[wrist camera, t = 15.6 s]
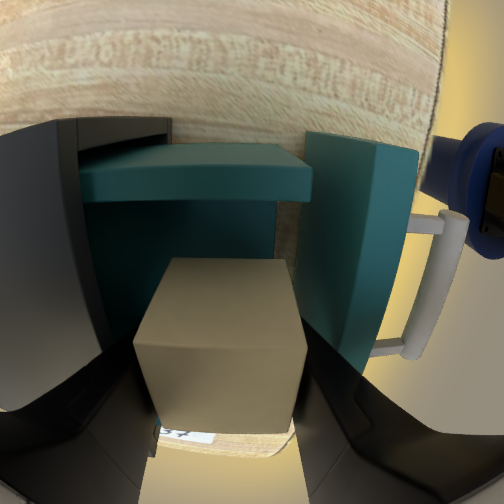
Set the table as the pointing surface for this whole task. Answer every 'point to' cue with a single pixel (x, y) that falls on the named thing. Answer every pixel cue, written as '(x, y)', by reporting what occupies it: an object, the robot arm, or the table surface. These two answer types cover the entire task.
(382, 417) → the robot arm
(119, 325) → the teal drawer
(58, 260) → the drawer cabinet
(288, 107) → the table surface
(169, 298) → the block
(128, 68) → the table surface
